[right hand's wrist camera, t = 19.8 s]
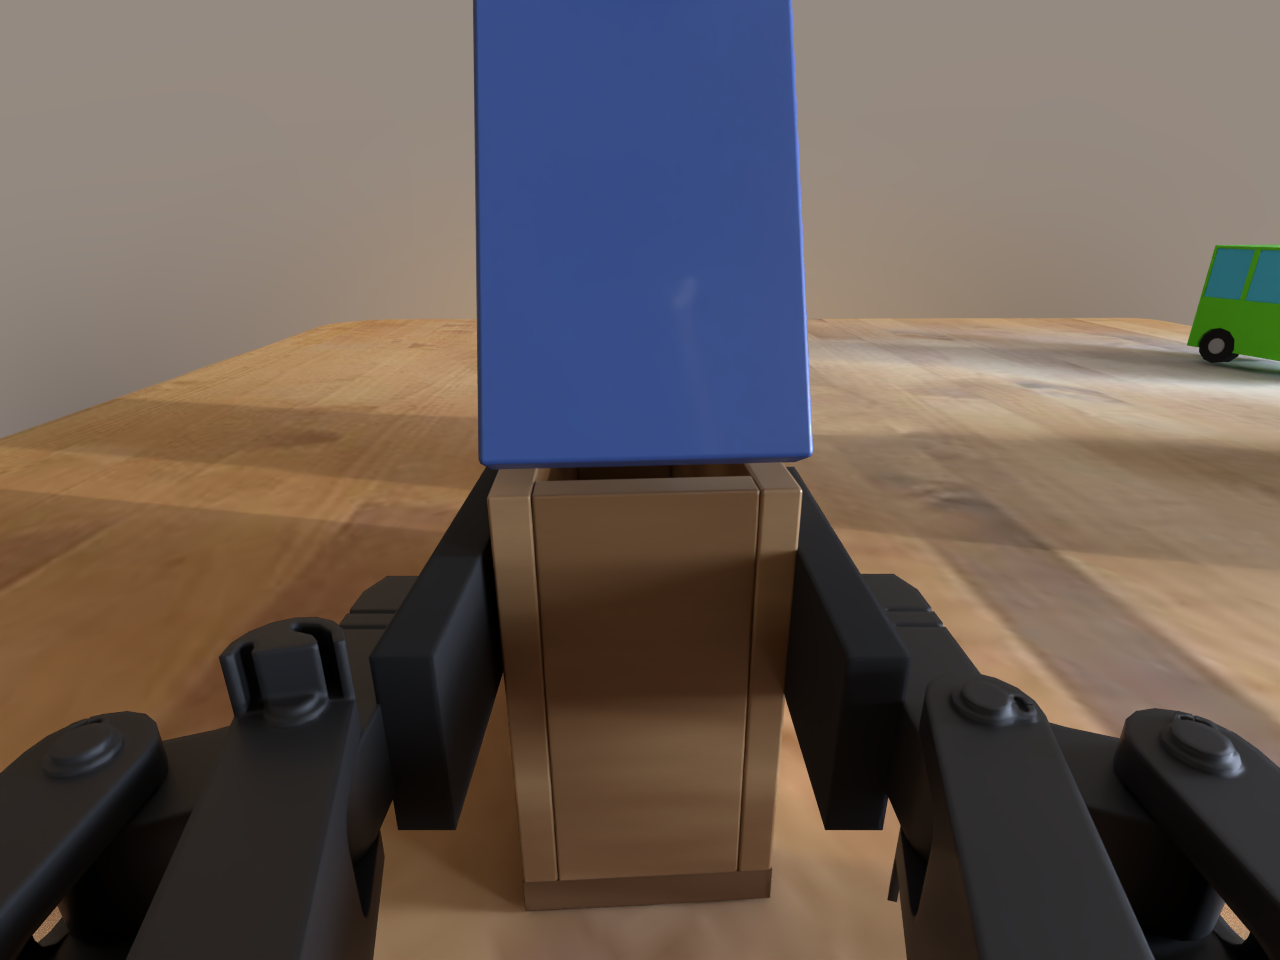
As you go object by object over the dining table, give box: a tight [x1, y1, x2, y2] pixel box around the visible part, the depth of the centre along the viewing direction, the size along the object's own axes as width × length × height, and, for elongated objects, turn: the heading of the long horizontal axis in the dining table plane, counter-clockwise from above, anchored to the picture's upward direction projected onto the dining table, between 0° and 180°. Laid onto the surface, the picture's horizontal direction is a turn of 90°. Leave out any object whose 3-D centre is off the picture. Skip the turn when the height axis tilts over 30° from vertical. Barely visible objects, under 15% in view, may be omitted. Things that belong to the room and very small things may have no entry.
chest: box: [487, 462, 802, 911], centre depth 18 cm, size 15×5×9 cm, turn 3°
